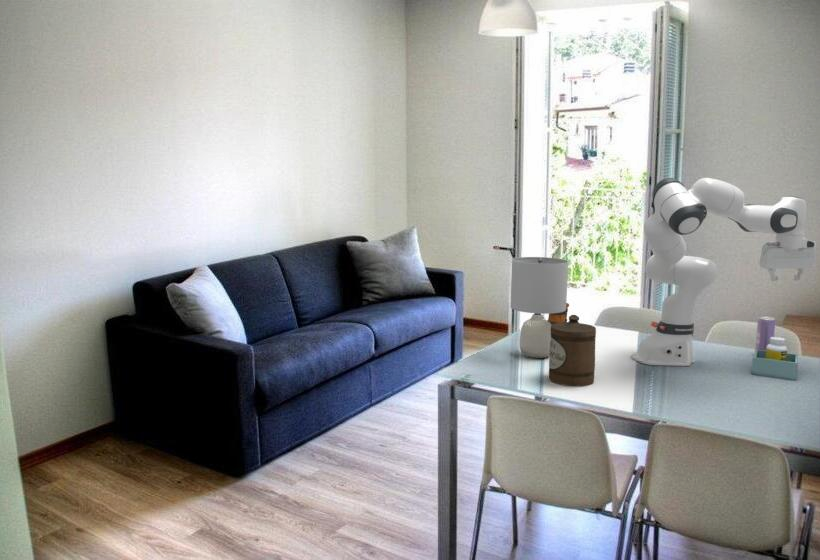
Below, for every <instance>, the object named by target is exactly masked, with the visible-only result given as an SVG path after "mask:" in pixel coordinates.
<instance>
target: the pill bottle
mask: <svg viewBox="0 0 820 560" xmlns="http://www.w3.org/2000/svg"><path fill="white" fill-rule="evenodd" d="M770 342H771V343H770V344H769V345H767V347H766V358H765V359H772V360H779V361H786V356H787V353H788V347H787V346H786V345H785V344H786V338H784V337H779V336H774V337H771V338H770Z"/></svg>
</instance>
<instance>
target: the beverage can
mask: <svg viewBox="0 0 820 560" xmlns="http://www.w3.org/2000/svg"><path fill="white" fill-rule="evenodd" d="M775 329H776V318H775V317H772V316H763V315H762V316H758V319H757V326H756V336H755V346H754V351H755V350H765V351H766V347H767V345H769V344H770V343H771V342H770V338H771V337H775Z"/></svg>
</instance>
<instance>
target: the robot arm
mask: <svg viewBox="0 0 820 560" xmlns="http://www.w3.org/2000/svg"><path fill="white" fill-rule="evenodd" d="M651 196H652V197H651V198H652V201H651V205H650V206H651V208H652V209H653V210H654V213H653V214H652V215H649V217H647V219H646V220H645V221H644V224H643V232H644V237H645V239H646V241H647V245H648V246H649V248H650V250H651V252H652V255H651V256H650V257H649V258H648V259H647V261H646V263H645V274H646V276H647V278H649V280H651V281H655V282H657V283H660V284H667V285H673V286H675V285H676V286H678V289H677V292H676V293H673V294H670V295H668V296H666V297H665V298H664V299H663V301H662V304H661V317H660V320H659V322H656V321H653V320H652V322H651V323H650V325H651V327H653V328H656V329H655V331H654V332H652V333H651V334H649V335H648V336H646V337H645V338H643V339H642V340H641V341H640V342H639V345H638V349H637V352H633V353H631V359H633V360H634V361H637V362H638V363H641V364H644V365H648V366H672V367H673V366H678V367H680V366H685V367H689V366H691V364H693V363H695V362H696V361H695V356H694V350H693V349H694V348H693V347H694V345H693V337H694V331H695V327H694V326H695V323H694V315H695V307H696V303H697V300H698V299H699V297H700V295H701V294H702V293H703V292H704V291H705V290H707V288H710V287H711V286H712V285H713V284H715V282H716V280H717V279H718V275H719V271H718V270H719V269H718V267H717V265H716V263H715V262H714V261H713V260H711V259H708V258H704V257H700V256H692V255H686V253H687V244H686V241H685V239H684V238H683V235H690V234H692V233H694V232H695V231H697V230H698V229H699V228H700V226H701V225H702V223H703V222H704V220H706V217H707V214H708V213H710V214H713V215H715V216H718V217H722V218H727V219H729V220H731V221H733V222H735V223H736V224H737V226H739V228H740V229H741V230H742V231H744V232H746V233H747V232H748V233H763V234H775V241H774V242H773V241H772V242H766V243H764V244H763V245H762V247H761V248H762V249H761V254H760V258H759V263H758V264H759V267H760V268H762V269H765V270H766V269H768V273H769V276H770V282H777V281H778V280H779V278H778V277H779V276H777V275H776V273H775V272H777V269H797V271H798V272H797V274H796V275H794V277H793V280H794V281H797V282H801V281H802V276H803V275H804V273H805V272H806V269H813V268H815V266H816V265H817V250H816V247H817V246H818V245H817V242H816V241H814V240H811V239H808V238H805V231H804V227H805V226H806V225H805V224H806V221H807V219H806V218H807V205H806V204H807V202H806V200H805V199H804V198H803V197H798V196H792V195H786V196H785V195H784V196H782V197H781V199H780V201H779V202H777V203H775V204H772V205H762V204H756V203H755V204H753V203H747V204H745V203H746V197H745V193H744V192H743V190H742V189H740V188H739V187H738V186H736V185H733V184H732V183H729V182H727V181H724V180H722V179H721V180H720V179H717V178H711V177H702V178H699V179H698V180H696V181H695V182H694V183H693V185H692V186H691V188H690V189H688V190H687V188H686V187H685V185H684V184H683V183H682V182H681V181H680V180H678V179H677V178H674V177H666V178H663V179H662V180H660V181H659V182H657V183H656V184H655V186H654V187H653V190H652V195H651Z"/></svg>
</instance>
